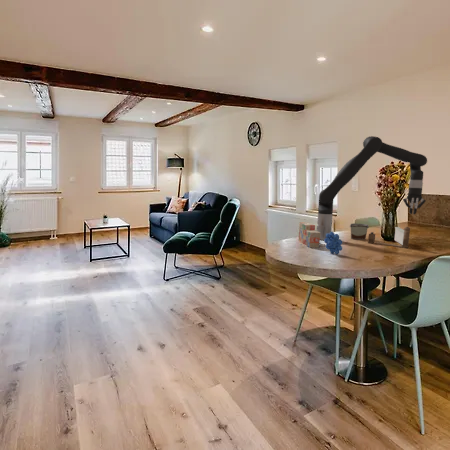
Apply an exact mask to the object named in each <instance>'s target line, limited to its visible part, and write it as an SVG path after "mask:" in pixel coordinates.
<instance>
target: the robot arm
mask: <svg viewBox="0 0 450 450" xmlns="http://www.w3.org/2000/svg"><path fill="white" fill-rule="evenodd" d="M362 146H363V147H362V149H361V150H360V152H358V154H357V155H355V156H353V157H352V158H351V159H349V160H347V162H346V163H345V164H344V165H343V166H342V167H341V168H340V169H339V171H338V173H337V174H336V176H335V177H334V178H333V180H332V181H331V182H330V184H328V185H327V187H326V188H324V189H322V190H321V191H320V193H319V194H318V208H317V209H318V211H317V224H316V231H318V232H320V241H324V239H325V238H326V234H327V233H329V234H330V232H332V228H333V227H332V226H333V214H334V213H333V212H334V211H333V210H334V199H335V197H336V196H337V194H339V192H340V191H341V190H342V189H343V188H344V187H345V186H346V185H347V184H348V183H350V181H351V180H352V179H354V177H356V175H357V174H358V173H359V172H360V170H361V169H362V168H363V167H364V166H365V165H366V163H367V162H368V161H369V160H371V158H373V156H375V154H377V153H380V154H383V155H386V156H389V157H390V158H393V159H395V160H398V161H401V162H404V163H409V170H410V178H409V183H408V184H409V185H408V190H407V191H408V194H407V197H406V198H403V199H402V201H403V202H404V205H405V206H406V207H407V208H409V210H408V212H409V214H410V215H416V214H417V212H418V211H417V210H418V209H420V208H422V206H423V205H425V202H426V201H427V200H426V199H424V198H423V196H422V195H423V194H422V193H423V186H424V185H423V184H424V183H423V181H424V171H423V170H422V168H421V167H423V166H425V165H427V164H428V158H427V156H425V155H424V154H421V153H417V152H412V151H410V150H407V149H405V148H401V147H398V146H396V145H390V144H388V143H385V142H383V141H382V139H381V138H380V137H379V136H378V137H377V136H372V135H371V136H367V137H366V138H364V140H363V141H362ZM408 202H409V203H408ZM413 206H414V207H413Z"/></svg>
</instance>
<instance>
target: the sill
mask: <svg viewBox="0 0 450 450" xmlns="http://www.w3.org/2000/svg"><path fill="white" fill-rule="evenodd" d="M375 243H376V245H382V246H389V247H394V248H402V247H403V245H402V244H400V245H398V244H394V243H387V242H381V241H375ZM375 243H374V244H375Z"/></svg>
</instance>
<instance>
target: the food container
mask: <svg viewBox="0 0 450 450" xmlns="http://www.w3.org/2000/svg"><path fill="white" fill-rule="evenodd" d="M369 227H370V226H369V224H366V223H350V225H349V228H350V239H351V240H366V239H367V233H368V229H369Z"/></svg>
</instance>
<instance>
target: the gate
mask: <svg viewBox="0 0 450 450" xmlns="http://www.w3.org/2000/svg"><path fill="white" fill-rule="evenodd" d="M394 229H395V232H394V241H395V242H397V243H398V244H400V245H401V246H403V237H404V229H403V228H401V227H399V226H395V227H394Z"/></svg>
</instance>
